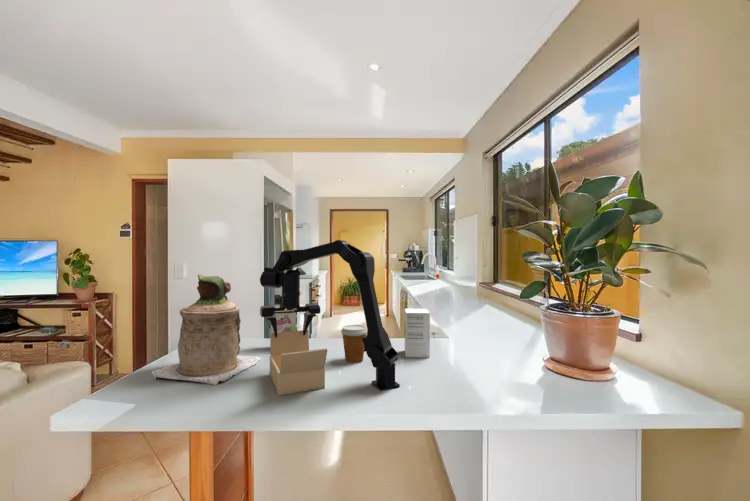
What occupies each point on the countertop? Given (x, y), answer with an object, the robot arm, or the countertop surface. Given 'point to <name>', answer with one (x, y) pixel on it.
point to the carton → (295, 378)
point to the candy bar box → (287, 322)
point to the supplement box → (417, 333)
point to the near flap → (303, 361)
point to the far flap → (289, 342)
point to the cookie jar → (209, 337)
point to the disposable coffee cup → (353, 342)
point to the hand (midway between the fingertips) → (290, 336)
